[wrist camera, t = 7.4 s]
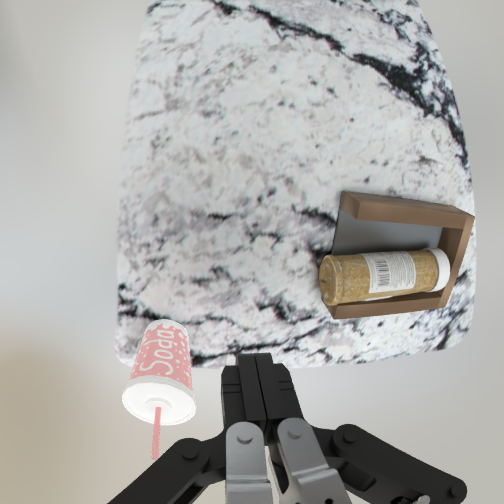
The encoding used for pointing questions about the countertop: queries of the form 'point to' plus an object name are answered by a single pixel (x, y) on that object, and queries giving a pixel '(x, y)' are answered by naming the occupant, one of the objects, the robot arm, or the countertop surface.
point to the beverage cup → (161, 379)
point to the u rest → (399, 244)
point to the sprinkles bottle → (382, 275)
